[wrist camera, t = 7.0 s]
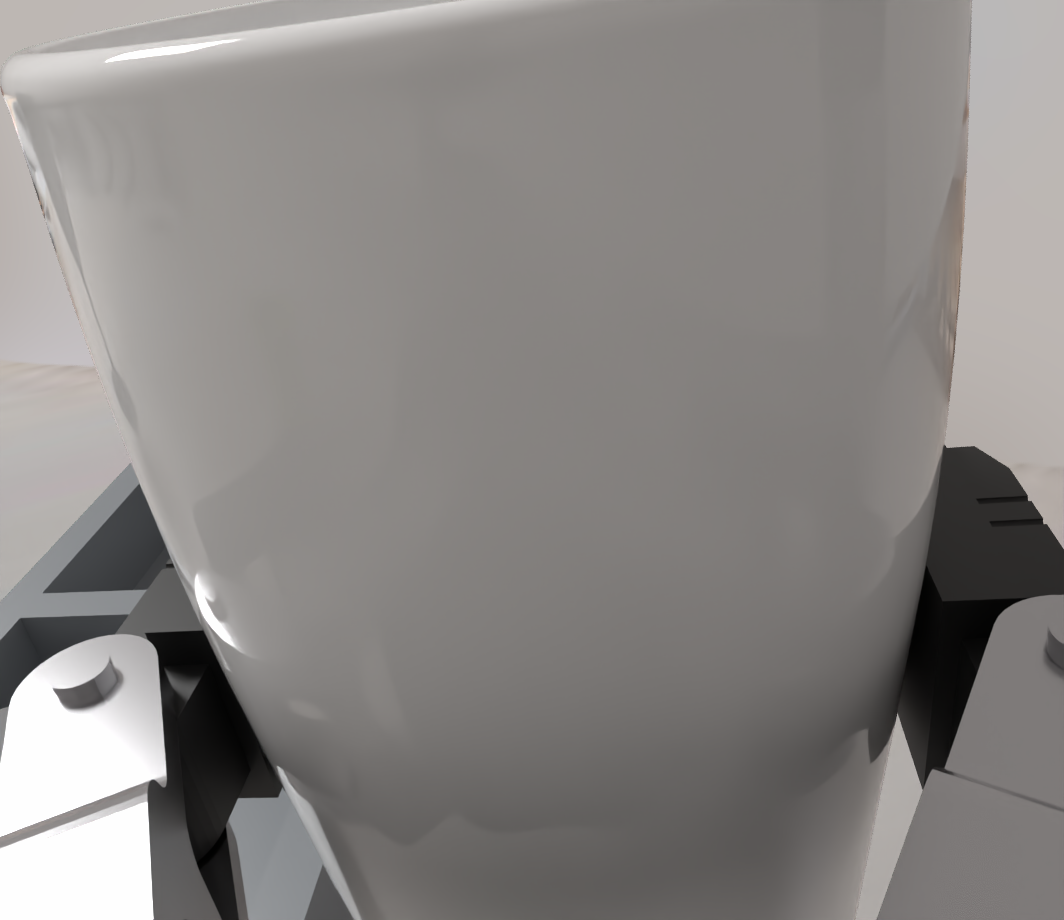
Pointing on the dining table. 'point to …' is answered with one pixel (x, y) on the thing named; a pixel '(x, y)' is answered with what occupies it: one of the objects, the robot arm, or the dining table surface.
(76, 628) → the divided tray
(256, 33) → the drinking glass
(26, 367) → the dining table surface
